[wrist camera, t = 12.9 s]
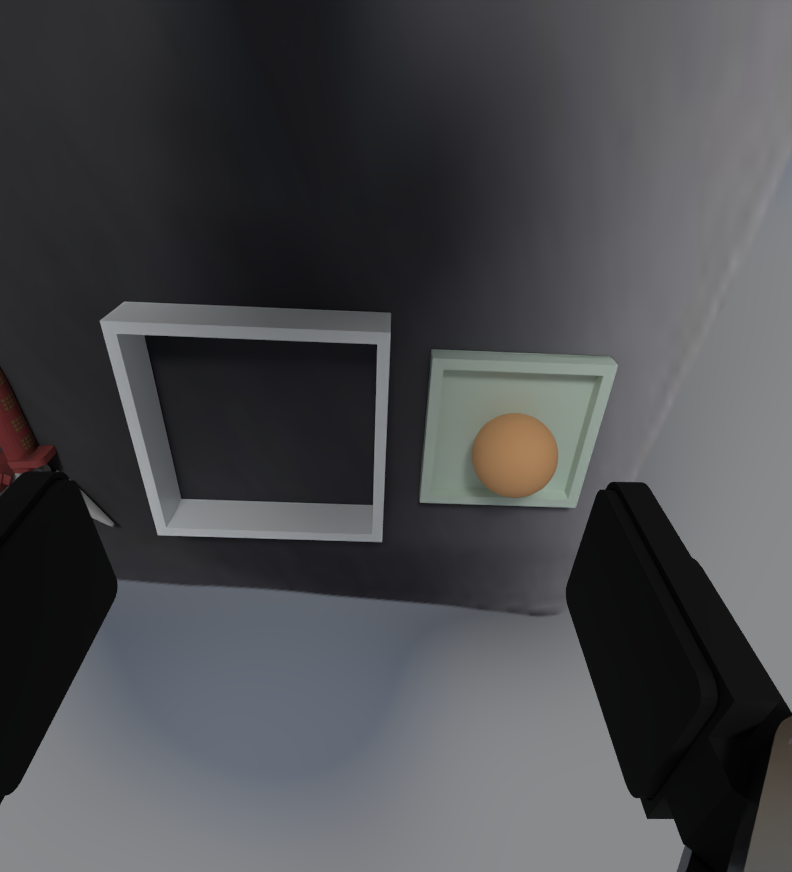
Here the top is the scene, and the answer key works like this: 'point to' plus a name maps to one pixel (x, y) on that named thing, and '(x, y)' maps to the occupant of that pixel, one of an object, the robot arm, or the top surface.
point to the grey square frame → (151, 438)
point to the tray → (502, 394)
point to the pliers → (26, 448)
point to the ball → (514, 455)
